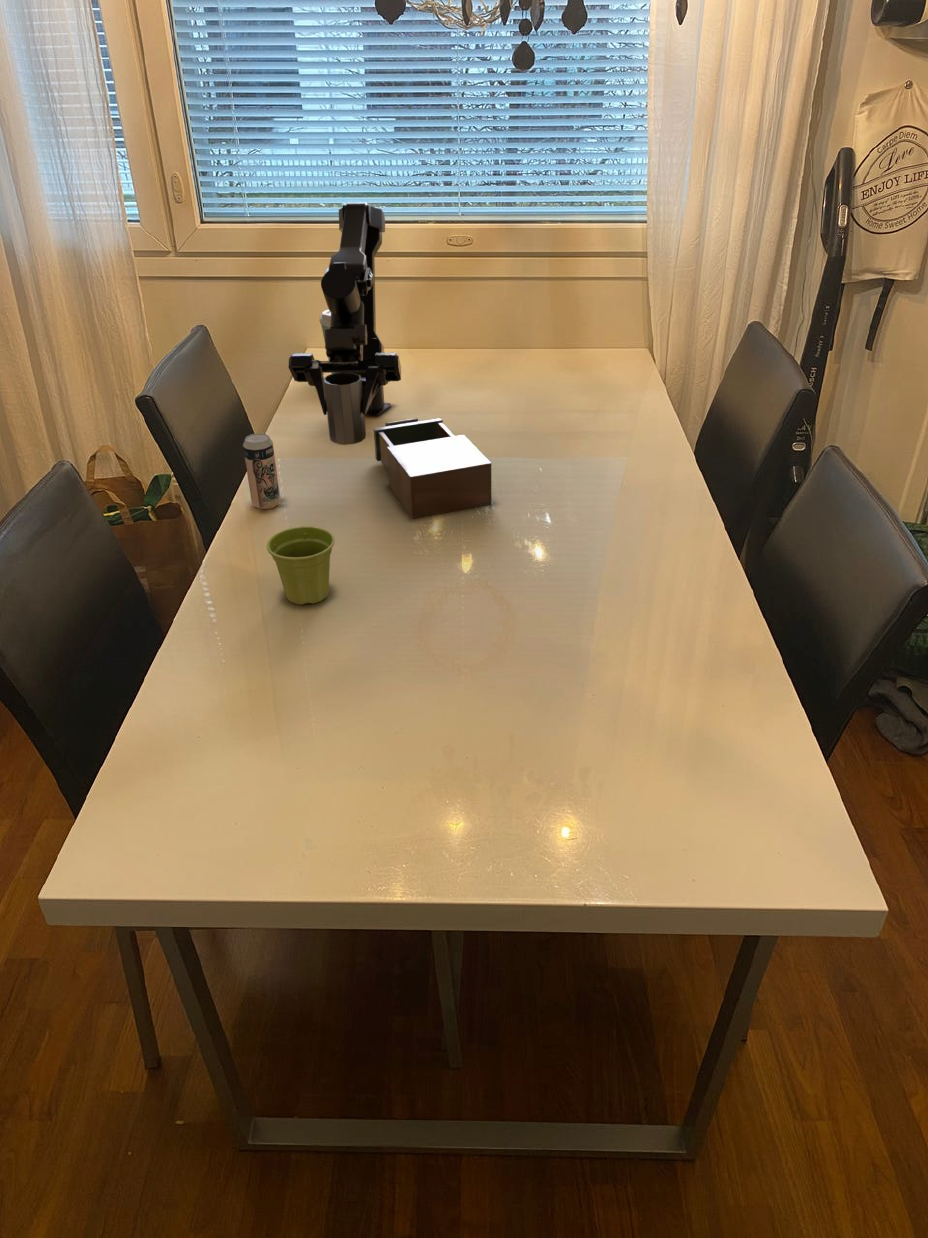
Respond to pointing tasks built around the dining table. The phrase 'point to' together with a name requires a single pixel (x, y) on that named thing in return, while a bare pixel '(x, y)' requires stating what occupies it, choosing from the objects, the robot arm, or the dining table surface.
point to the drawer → (406, 435)
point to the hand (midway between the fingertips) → (344, 413)
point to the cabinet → (439, 476)
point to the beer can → (261, 471)
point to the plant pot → (303, 562)
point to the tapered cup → (345, 408)
